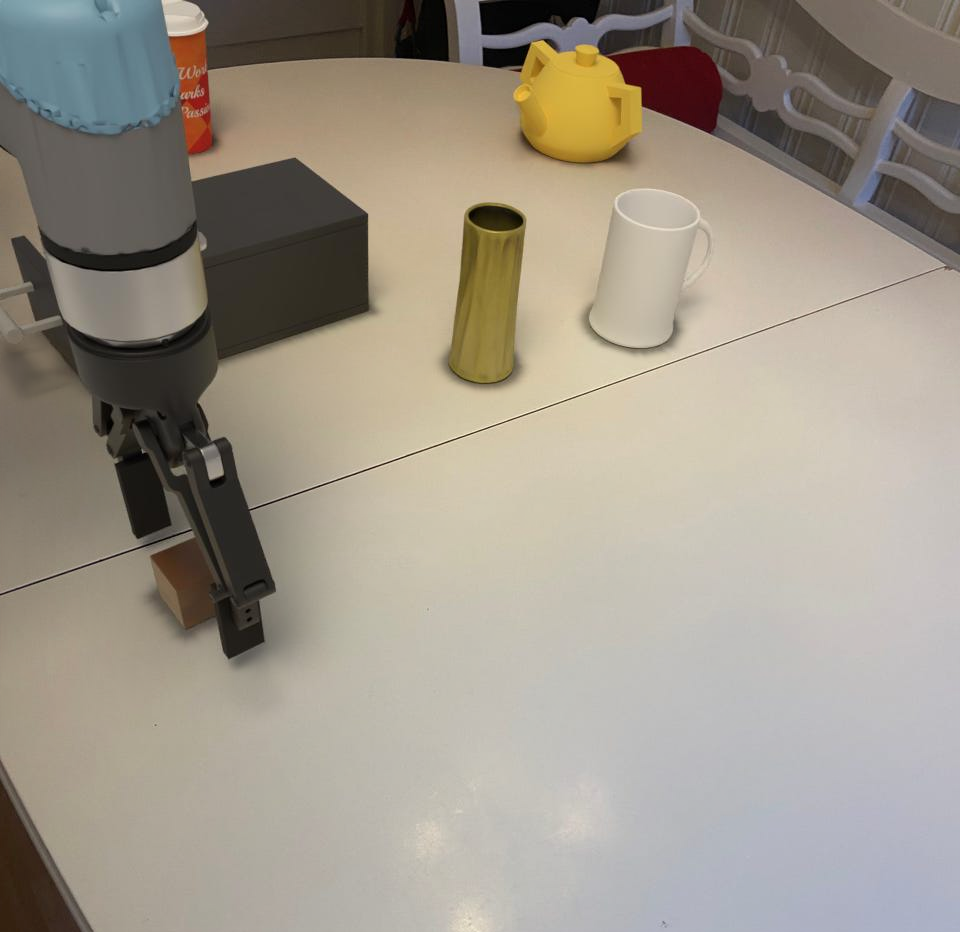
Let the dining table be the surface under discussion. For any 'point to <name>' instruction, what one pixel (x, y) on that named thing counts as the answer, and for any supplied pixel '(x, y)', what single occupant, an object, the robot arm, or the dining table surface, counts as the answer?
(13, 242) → the drawer
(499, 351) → the vase
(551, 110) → the teapot
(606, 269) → the mug
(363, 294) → the dark grey storage box
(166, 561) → the block
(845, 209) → the dining table surface
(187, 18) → the paper cup
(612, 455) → the dining table surface
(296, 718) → the dining table surface
